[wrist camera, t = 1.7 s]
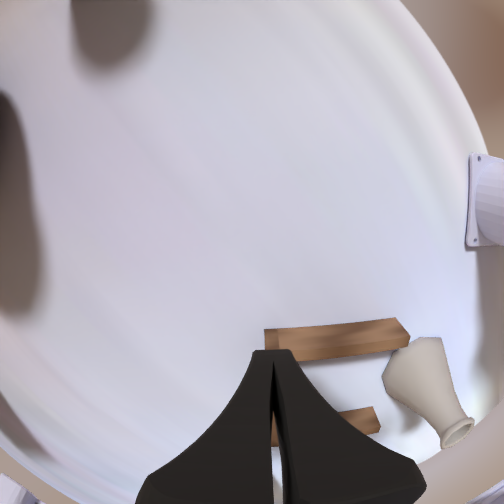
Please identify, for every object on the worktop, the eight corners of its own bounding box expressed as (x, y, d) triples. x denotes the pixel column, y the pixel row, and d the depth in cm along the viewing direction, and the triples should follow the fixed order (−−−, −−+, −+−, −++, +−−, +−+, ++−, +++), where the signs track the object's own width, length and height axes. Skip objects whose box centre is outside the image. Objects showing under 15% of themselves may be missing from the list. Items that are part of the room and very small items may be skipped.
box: (395, 317, 21) (410, 336, 18) (370, 412, 24) (378, 432, 21) (264, 329, 21) (265, 352, 18) (267, 424, 25) (268, 447, 22)
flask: (448, 326, 21) (506, 387, 12) (434, 380, 23) (475, 442, 14) (384, 345, 22) (433, 426, 12) (376, 399, 24) (408, 474, 14)
